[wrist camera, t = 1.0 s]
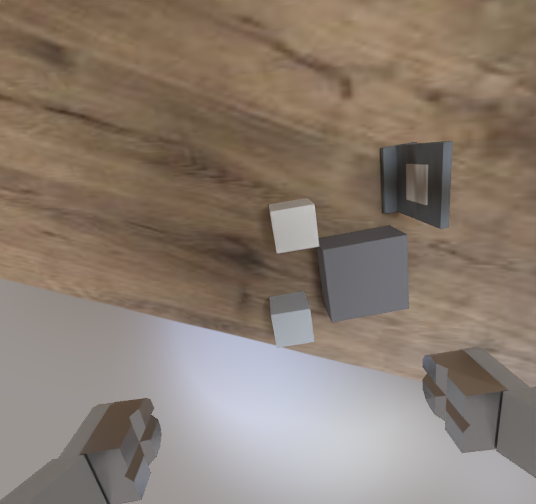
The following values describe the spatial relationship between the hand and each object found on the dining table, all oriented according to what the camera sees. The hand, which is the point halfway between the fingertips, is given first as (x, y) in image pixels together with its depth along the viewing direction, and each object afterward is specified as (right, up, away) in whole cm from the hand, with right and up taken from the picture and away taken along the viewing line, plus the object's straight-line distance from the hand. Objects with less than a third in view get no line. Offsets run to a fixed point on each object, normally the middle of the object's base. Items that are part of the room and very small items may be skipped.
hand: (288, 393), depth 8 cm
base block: (+12, +2, +31) cm, 33 cm away
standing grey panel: (+16, +13, +27) cm, 34 cm away
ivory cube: (+2, +8, +29) cm, 30 cm away
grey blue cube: (+2, -4, +33) cm, 33 cm away
